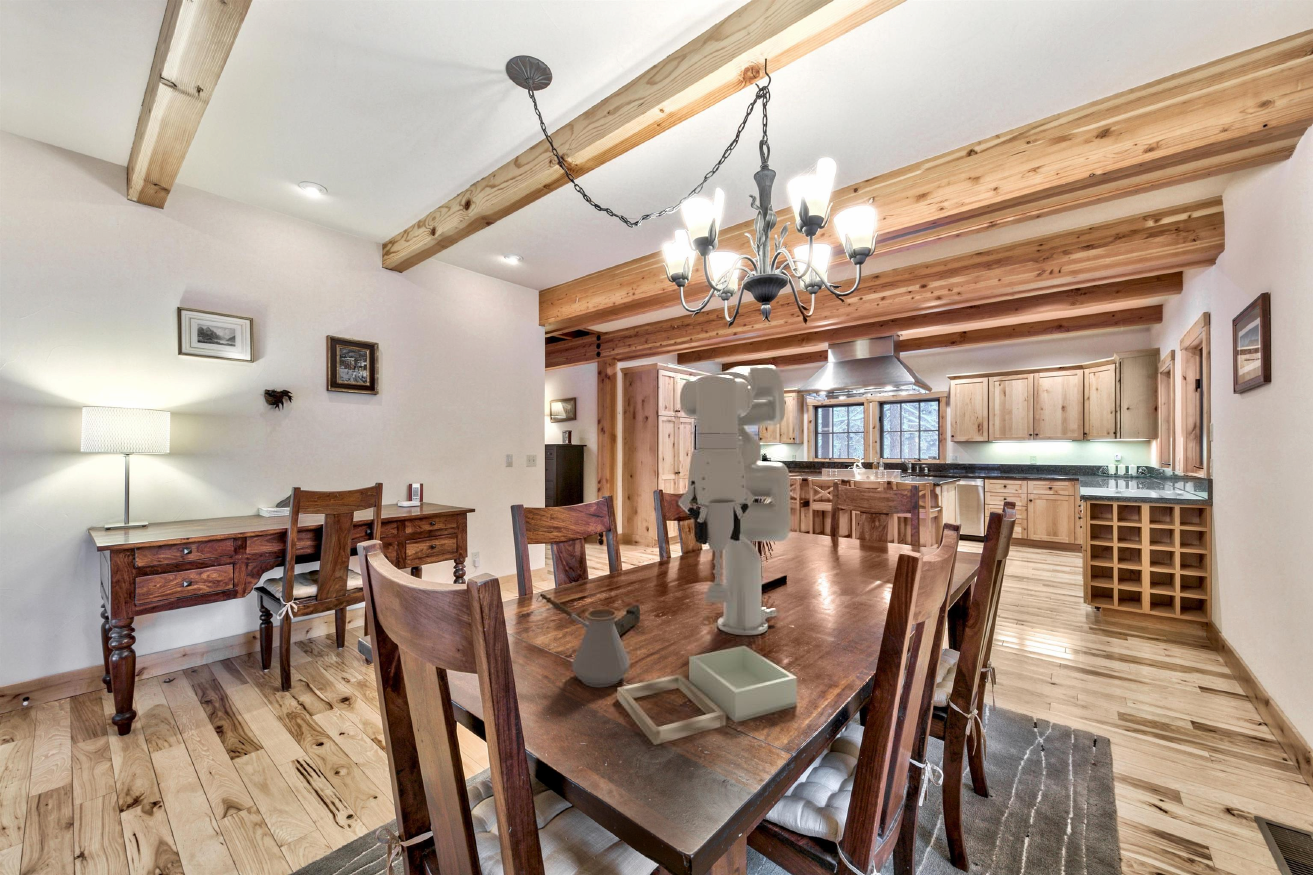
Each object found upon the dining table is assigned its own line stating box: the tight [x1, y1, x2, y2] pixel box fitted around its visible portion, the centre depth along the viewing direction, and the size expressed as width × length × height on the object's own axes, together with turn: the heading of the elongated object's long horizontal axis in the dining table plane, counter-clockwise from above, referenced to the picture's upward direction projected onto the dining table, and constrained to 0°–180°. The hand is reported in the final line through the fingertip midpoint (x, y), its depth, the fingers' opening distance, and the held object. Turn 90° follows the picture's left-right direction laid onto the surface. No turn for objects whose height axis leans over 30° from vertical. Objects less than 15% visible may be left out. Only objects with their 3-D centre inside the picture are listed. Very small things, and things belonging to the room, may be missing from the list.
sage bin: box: [688, 645, 798, 723], centre depth 96 cm, size 13×16×5 cm
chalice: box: [703, 501, 736, 604], centre depth 95 cm, size 7×7×18 cm
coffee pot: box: [536, 593, 631, 688], centre depth 105 cm, size 21×12×15 cm, turn 64°
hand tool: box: [614, 604, 641, 637], centre depth 128 cm, size 19×4×5 cm, turn 155°
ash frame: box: [616, 673, 726, 746], centre depth 90 cm, size 13×16×2 cm
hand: (717, 540), depth 95 cm, fingers closed on chalice, 6 cm apart
